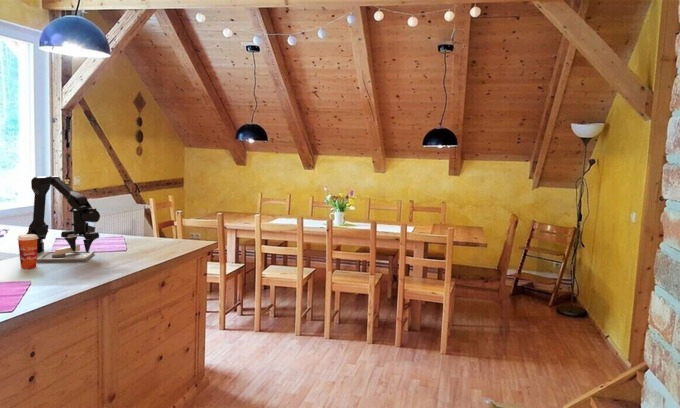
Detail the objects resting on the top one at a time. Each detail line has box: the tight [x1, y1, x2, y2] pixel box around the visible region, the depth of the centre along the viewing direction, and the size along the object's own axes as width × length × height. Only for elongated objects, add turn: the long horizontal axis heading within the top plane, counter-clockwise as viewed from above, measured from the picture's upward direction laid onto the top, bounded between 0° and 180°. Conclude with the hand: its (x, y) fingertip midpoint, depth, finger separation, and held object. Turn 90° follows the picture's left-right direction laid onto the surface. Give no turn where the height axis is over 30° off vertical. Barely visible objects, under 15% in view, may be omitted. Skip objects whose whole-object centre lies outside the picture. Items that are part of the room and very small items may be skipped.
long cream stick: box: [52, 244, 81, 257], centre depth 254 cm, size 14×6×4 cm, turn 155°
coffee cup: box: [16, 233, 38, 270], centre depth 232 cm, size 8×8×15 cm
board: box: [36, 250, 95, 264], centre depth 252 cm, size 22×17×2 cm
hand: (80, 251), depth 254 cm, fingers open, 8 cm apart
